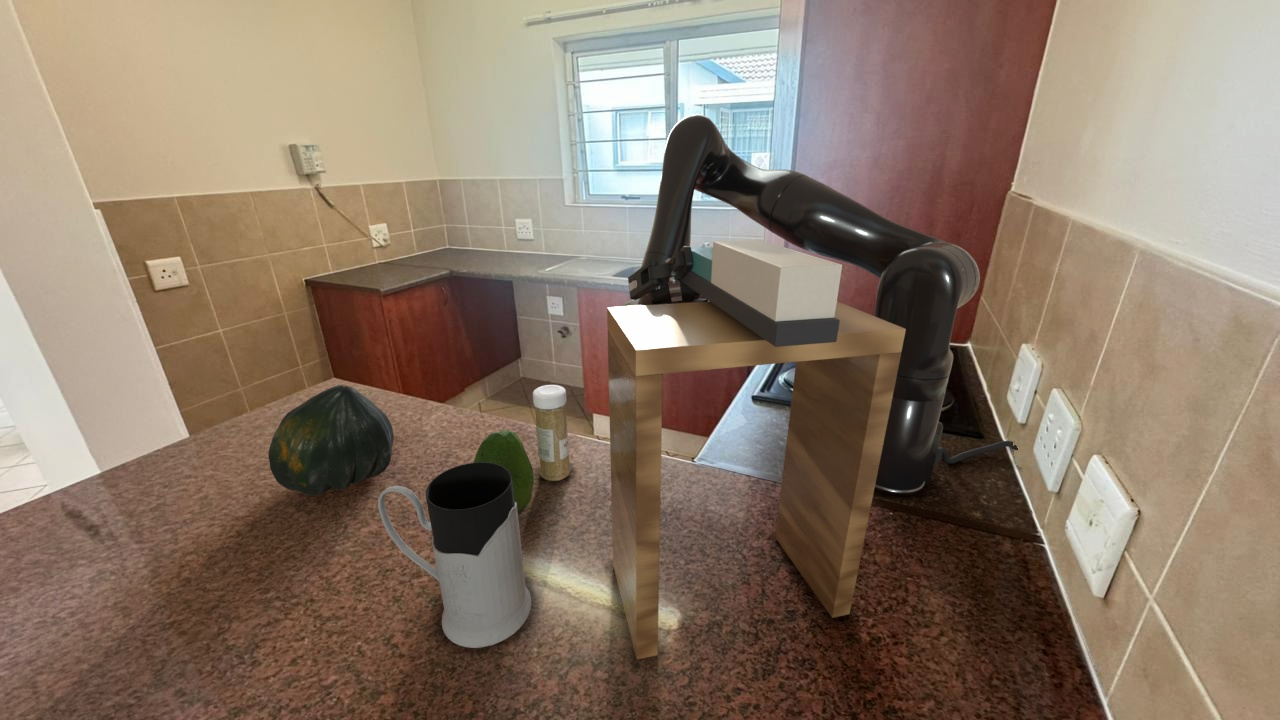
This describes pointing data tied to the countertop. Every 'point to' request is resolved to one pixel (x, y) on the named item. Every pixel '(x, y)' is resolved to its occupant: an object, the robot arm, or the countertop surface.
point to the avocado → (510, 463)
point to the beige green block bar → (770, 289)
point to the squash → (331, 442)
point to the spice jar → (552, 431)
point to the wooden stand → (815, 450)
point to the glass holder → (472, 551)
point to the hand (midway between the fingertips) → (714, 255)
